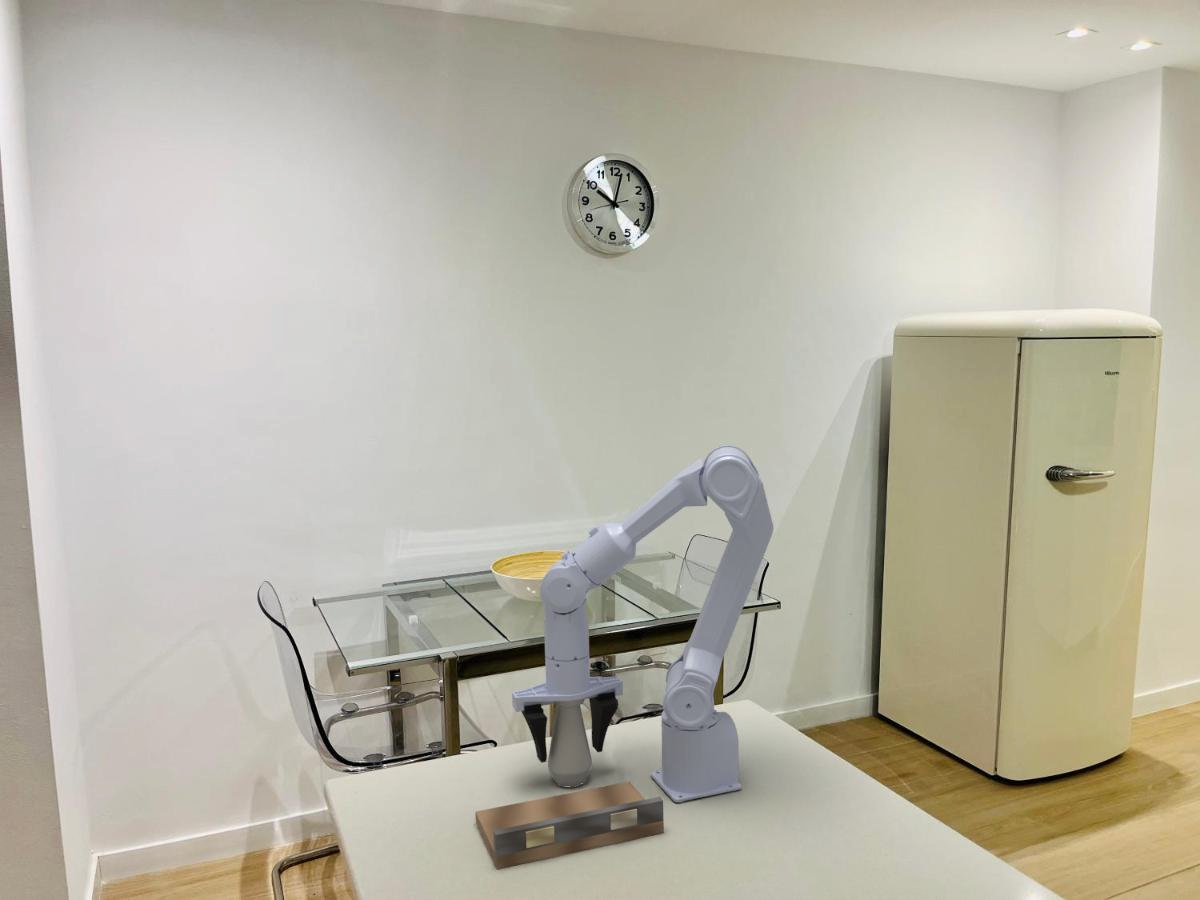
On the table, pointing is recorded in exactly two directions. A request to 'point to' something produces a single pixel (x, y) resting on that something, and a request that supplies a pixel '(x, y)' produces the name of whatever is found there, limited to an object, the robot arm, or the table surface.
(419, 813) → the table surface
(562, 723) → the salt shaker
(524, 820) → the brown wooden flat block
